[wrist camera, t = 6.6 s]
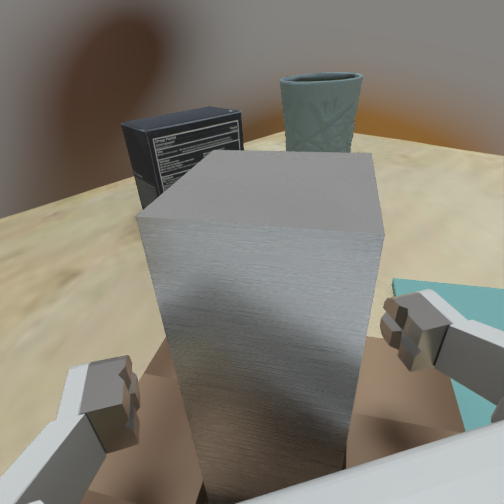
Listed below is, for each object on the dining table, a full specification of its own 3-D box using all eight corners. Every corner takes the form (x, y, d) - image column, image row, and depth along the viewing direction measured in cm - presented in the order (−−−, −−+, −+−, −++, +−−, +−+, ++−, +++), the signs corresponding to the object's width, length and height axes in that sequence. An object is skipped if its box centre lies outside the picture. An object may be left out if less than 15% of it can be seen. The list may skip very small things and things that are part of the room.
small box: (219, 191, 44) (210, 103, 38) (251, 207, 39) (245, 110, 34) (141, 217, 38) (117, 119, 33) (168, 238, 34) (145, 129, 28)
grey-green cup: (366, 175, 46) (379, 75, 40) (297, 186, 44) (299, 83, 37) (330, 155, 54) (336, 70, 48) (270, 163, 52) (268, 76, 46)
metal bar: (218, 540, 13) (135, 216, 6) (244, 439, 16) (213, 149, 9) (323, 571, 12) (384, 234, 5) (329, 458, 16) (371, 153, 8)
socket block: (9, 695, 10) (-42, 677, 9) (189, 346, 22) (181, 311, 20) (550, 951, 7) (628, 1000, 6) (427, 385, 19) (441, 346, 17)
